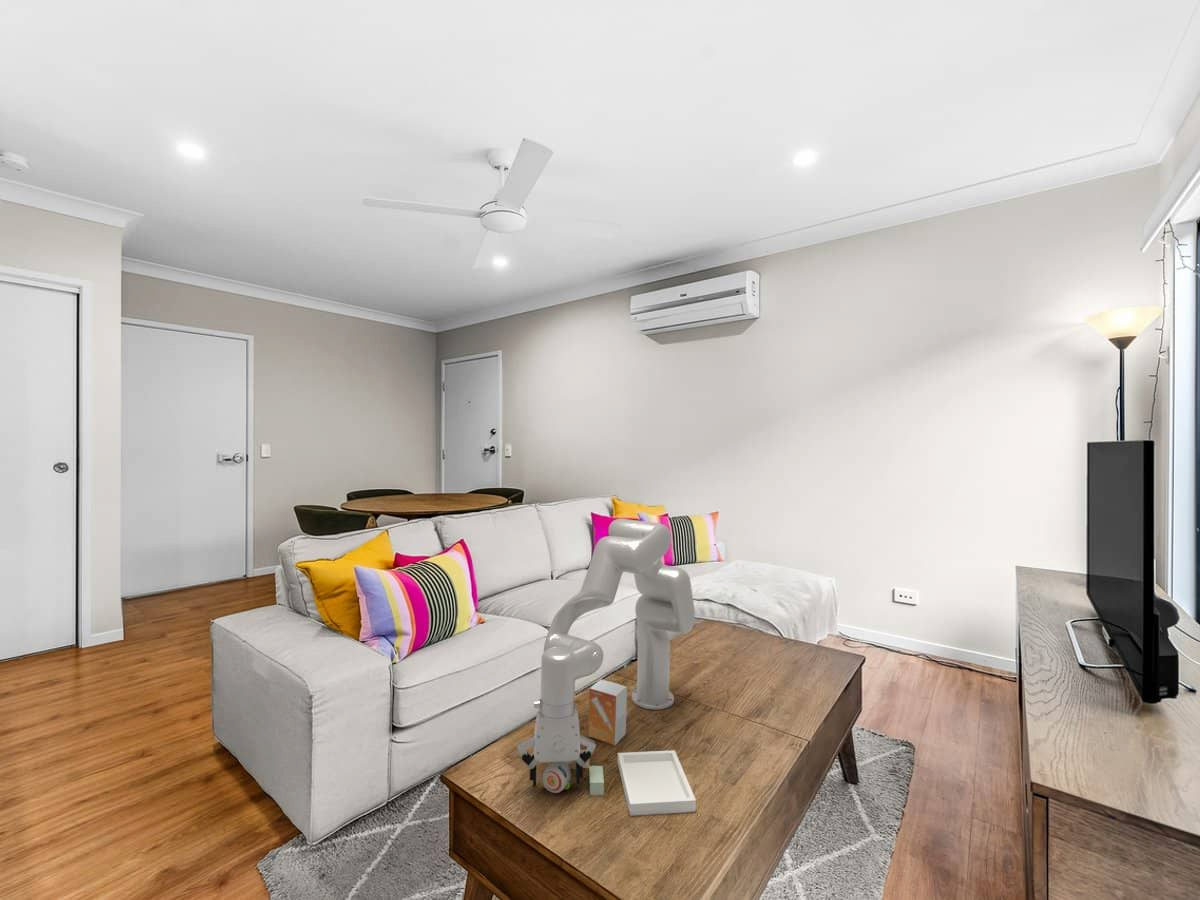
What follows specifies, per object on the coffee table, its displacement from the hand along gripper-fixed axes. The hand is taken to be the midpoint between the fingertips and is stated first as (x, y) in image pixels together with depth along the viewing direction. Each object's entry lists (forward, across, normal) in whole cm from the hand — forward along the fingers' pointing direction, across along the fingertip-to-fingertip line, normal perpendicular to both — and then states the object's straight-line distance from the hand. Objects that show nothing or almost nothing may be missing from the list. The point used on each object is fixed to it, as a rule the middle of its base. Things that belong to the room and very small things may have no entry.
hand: (556, 781), depth 121 cm
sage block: (+2, +9, 0) cm, 9 cm away
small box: (+2, +14, +20) cm, 24 cm away
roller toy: (+2, 0, 0) cm, 2 cm away
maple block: (+2, +5, +8) cm, 10 cm away
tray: (+2, +22, -1) cm, 22 cm away
